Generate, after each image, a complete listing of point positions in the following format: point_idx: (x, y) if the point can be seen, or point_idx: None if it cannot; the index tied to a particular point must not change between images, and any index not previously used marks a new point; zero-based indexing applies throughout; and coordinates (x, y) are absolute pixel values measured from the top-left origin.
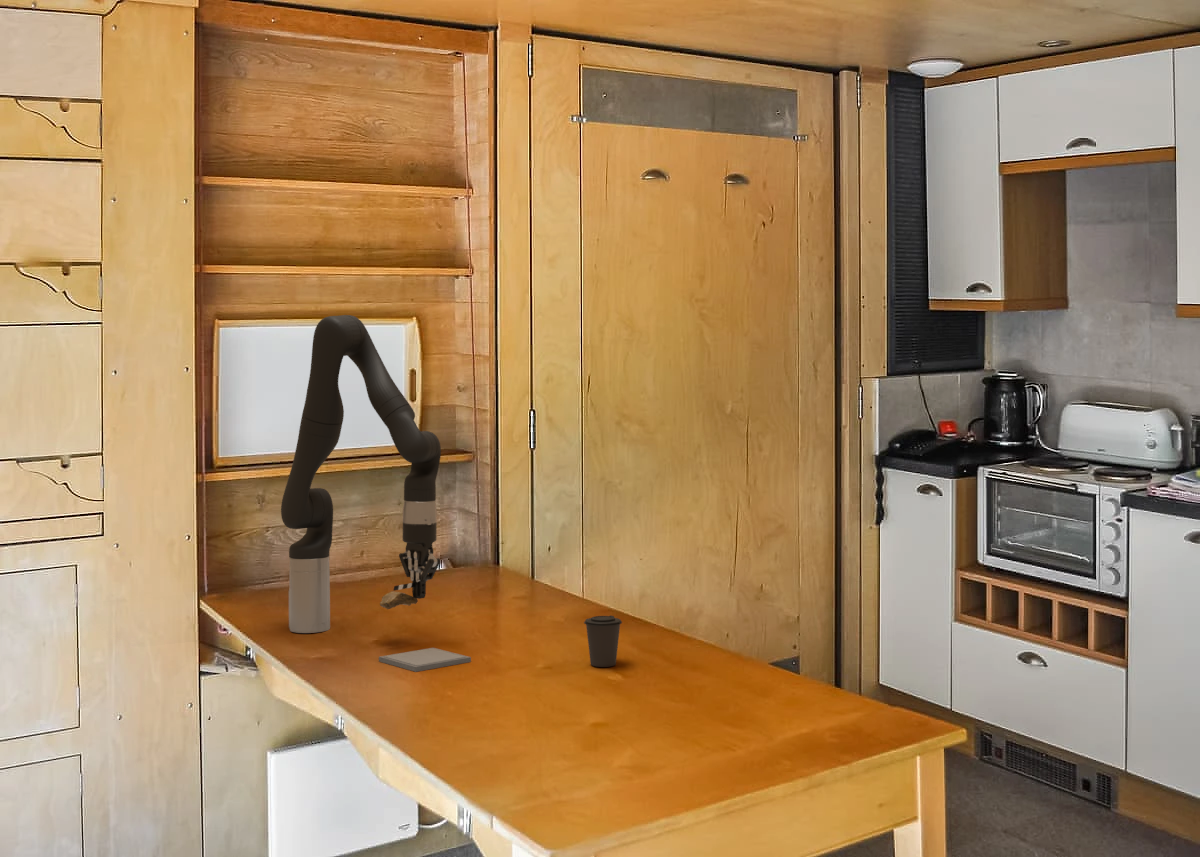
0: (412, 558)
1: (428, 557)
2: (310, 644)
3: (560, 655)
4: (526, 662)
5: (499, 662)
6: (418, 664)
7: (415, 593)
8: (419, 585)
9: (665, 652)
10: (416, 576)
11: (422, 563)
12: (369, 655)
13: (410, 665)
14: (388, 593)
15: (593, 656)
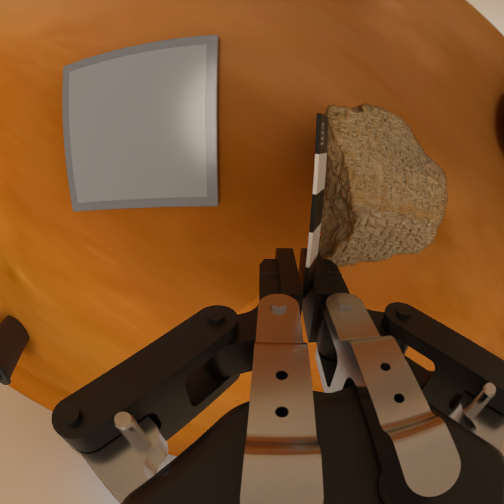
0: (377, 435)
1: (136, 475)
2: (483, 83)
3: (70, 338)
4: (43, 277)
5: (55, 246)
6: (73, 78)
7: (294, 256)
8: (271, 292)
9: (57, 395)
10: (291, 318)
11: (219, 422)
12: (306, 62)
13: (80, 60)
14: (438, 197)
15: (3, 322)
